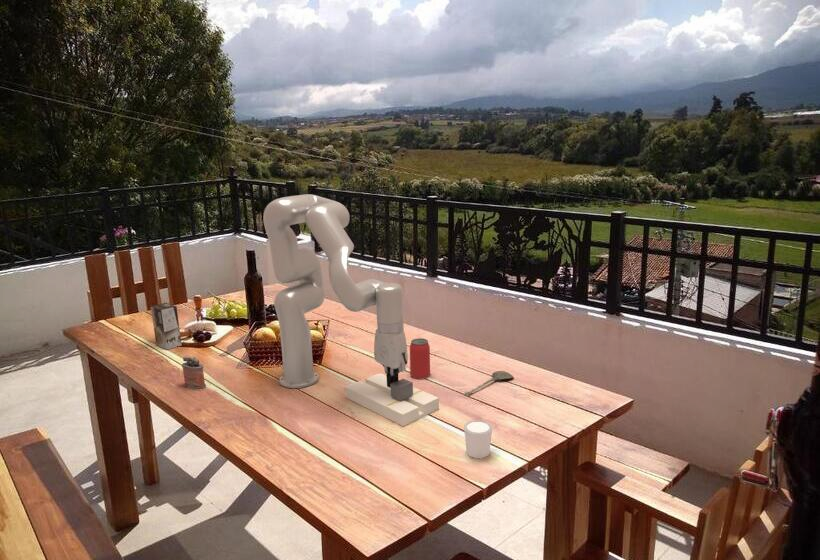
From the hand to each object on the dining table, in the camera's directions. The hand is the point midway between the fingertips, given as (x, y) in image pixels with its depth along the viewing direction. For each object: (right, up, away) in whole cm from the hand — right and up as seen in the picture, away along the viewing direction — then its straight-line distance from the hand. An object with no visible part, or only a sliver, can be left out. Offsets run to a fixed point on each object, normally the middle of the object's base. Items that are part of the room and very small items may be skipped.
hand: (392, 385), depth 165 cm
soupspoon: (+30, -3, +13) cm, 33 cm away
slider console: (-1, -5, +2) cm, 6 cm away
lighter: (-64, -4, +18) cm, 67 cm away
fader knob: (+3, -5, -2) cm, 6 cm away
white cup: (+22, -12, -25) cm, 36 cm away
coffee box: (-89, +5, +56) cm, 106 cm away
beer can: (+8, -1, +21) cm, 23 cm away
